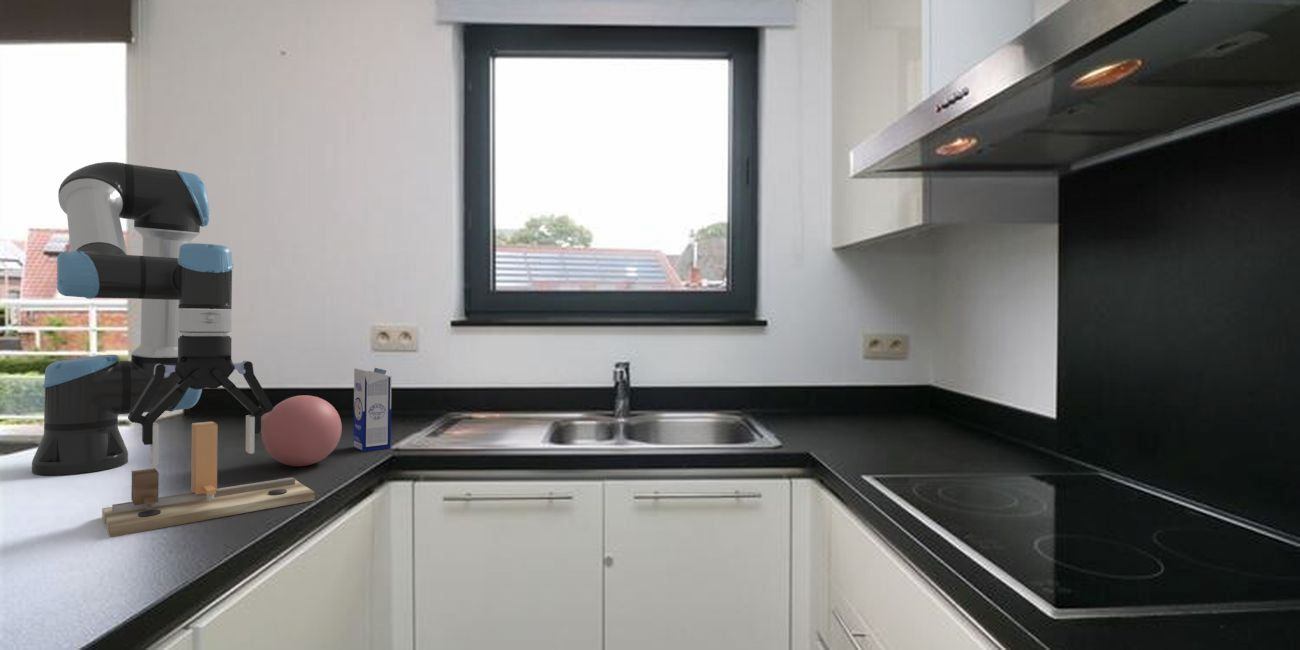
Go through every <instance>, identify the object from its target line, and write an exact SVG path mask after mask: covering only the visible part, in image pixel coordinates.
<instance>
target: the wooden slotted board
mask: <svg viewBox="0 0 1300 650" xmlns="http://www.w3.org/2000/svg"><path fill="white" fill-rule="evenodd" d="M159 475H160V474H159V471H158V469H156V468H154V467H153V468H146V469H138V470H132V471H131V498H130V500H131V501H128V502H121V503H115V504H114V503H113V504H112V505H111V506H109V507H102V510H101V512H102V513H101V514H102V515H101V517H102V520H103V523H104V526H105V525H106V526H105V528H106V530H108V531H107V533H108V535H109V537H110V538H112V537H117V536H118V537H119V536H123V535H129V534H134V533H139V532H144V531H145V532H146V531H150V530H157V529H162V528H167V527H174V526H179V525H183V524H189V523H196V522H200V521H206V520H213V519H217V518H222V517H223V518H224V517H228V516H234V515H240V514H244V513H252V512H256V511H257V512H258V511H264V510H268V509H273V508H279V507H285V506H291V505H296V504H301V503H307V502H312V501H315V497H316V495H315V493H316V492H315V491H314V490H313V489H311V488H309V487H307V486H306V485H304V484H303V483H301V482H299V481H298V480H297V479H296V478H294V477H293V476H292V477H285V478H279V479H273V480H266V481H260V482H254V483H245V484H239V485H235V486H227V487H226V486H225V487H220V488H217V491H216V494H214V500H210V501H207V495H206V494H205V493H203V494H195V493H194V492H193V491H192V492H186V493H181V494H174V495H168V496H162V497H159V489H160V487H159V484H160V483H159V481H160V480H159Z"/></svg>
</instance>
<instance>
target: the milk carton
mask: <svg viewBox="0 0 1300 650" xmlns="http://www.w3.org/2000/svg"><path fill="white" fill-rule="evenodd" d="M353 370H354V371H353V376H354V377H353V379H354V380H353V437H352V438H353V445H352V446H353V448H355V450H356V449H357V450H358V451H361V452H372V451H379V450H389V449H391V446H392V445H391V442H392V441H391V437H392V375H388V374H386V373H387V369H386V370H385V369H382V368H379V367H374V369H373V371H372V370H366V369H361V368H354V369H353Z"/></svg>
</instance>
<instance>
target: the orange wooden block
mask: <svg viewBox="0 0 1300 650" xmlns="http://www.w3.org/2000/svg"><path fill="white" fill-rule="evenodd" d="M218 427H219V426H218V424H217V422H214V421H204V422H203V421H202V422H201V421H200V422H192V423H191V451H190V453H191V460H190V461H191V464H190V465H191V467H190V468H191V469H190V471H191V472H190V474H191V475H190V477H191V478H190V479H191V480H190V482H191V483H190V489H191V490H190V491H192V493H193V492H194V493H195V494H203V493H205V494H206V495H207V501H210V500H214V494H216V491H217V489H218V433H219V432H218V429H219V428H218Z"/></svg>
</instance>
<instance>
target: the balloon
mask: <svg viewBox="0 0 1300 650" xmlns="http://www.w3.org/2000/svg"><path fill="white" fill-rule="evenodd" d="M342 428H343V426H342V420H341V417H340V414H339V412H338V411H337V410H336V408H335V407H334V406H333V404H331V403H330V402H328V401H327V400H325V399H323V398H321V397H318V396H313V395H309V394H308V395H307V394H305V395H302V394H301V395H296V396H295V395H294V396H291V397H288V398H285V399H284V400H282V401H280V402H279V403H277V404H276V405H275V406H273V410H272V411H268V412H266V413H264V414H263V415H262V416H261V431H260V433H261V440H262V444H263V447H264V448H265V450H266V452H267V453H268V454H269V455H270V456H271V457H272V458H273V459H275V460H276V461H277V462H278V463H281V464H283V465H287V466H290V467H306V466H311V465H314V464H316V463H319V462H321V461H322V460H325V458H327V457H328V456H330V454H332V452H333V451H334V450H335V449H336V448H337V446H338V444H339V443H340V440H341V436H342V432H343V431H342V430H343V429H342Z"/></svg>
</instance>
